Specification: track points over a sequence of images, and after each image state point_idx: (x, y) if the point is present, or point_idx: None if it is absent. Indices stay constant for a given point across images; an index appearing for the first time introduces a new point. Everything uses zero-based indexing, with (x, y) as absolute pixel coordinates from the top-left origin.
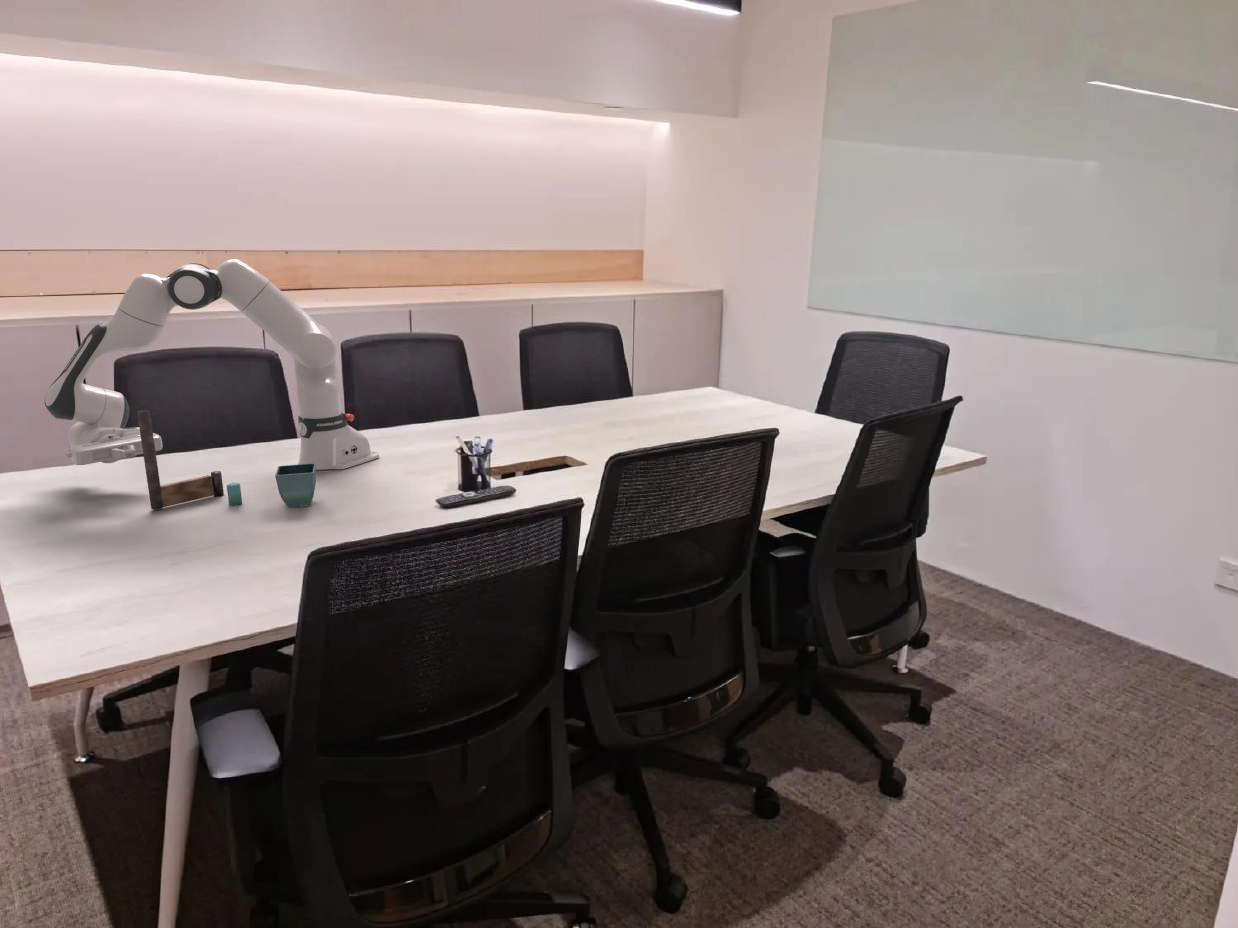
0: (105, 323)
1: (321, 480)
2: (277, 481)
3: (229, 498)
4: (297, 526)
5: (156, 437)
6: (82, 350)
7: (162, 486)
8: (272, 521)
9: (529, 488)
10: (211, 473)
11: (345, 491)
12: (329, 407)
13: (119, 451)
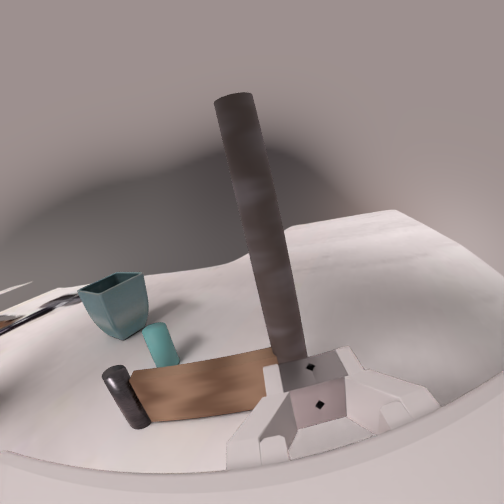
0: None
1: (23, 382)
2: (144, 281)
3: (174, 347)
4: (190, 290)
5: (9, 453)
6: None
7: (266, 351)
8: (193, 303)
9: (45, 300)
10: (125, 370)
11: (66, 342)
12: None
13: (370, 374)
